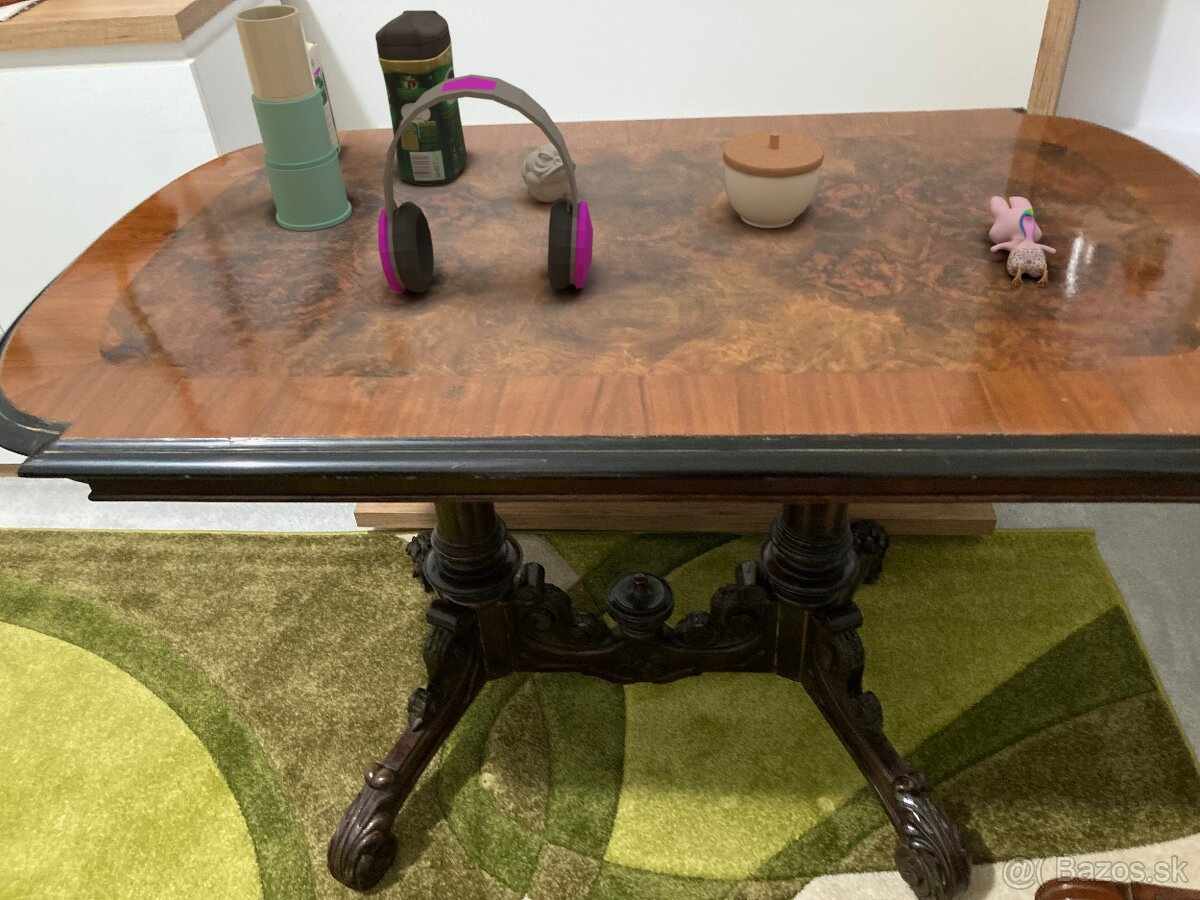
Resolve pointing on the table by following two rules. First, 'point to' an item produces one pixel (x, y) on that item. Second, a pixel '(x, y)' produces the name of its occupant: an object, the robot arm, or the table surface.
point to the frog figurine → (545, 174)
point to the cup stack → (302, 164)
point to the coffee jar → (410, 68)
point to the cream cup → (275, 53)
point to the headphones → (407, 226)
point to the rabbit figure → (1018, 237)
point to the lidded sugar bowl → (771, 176)
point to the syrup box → (323, 92)
